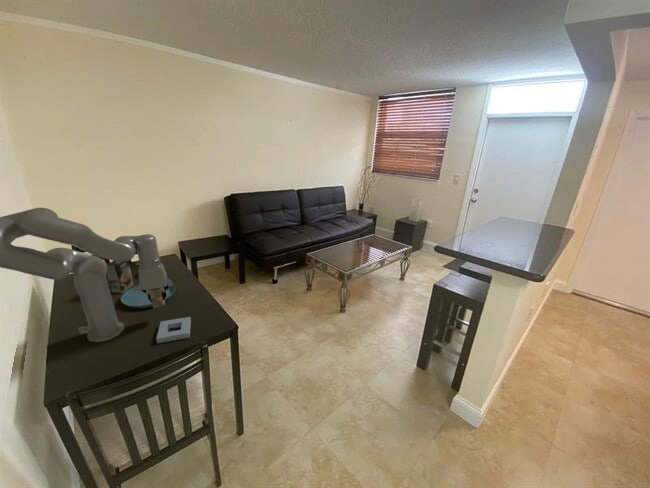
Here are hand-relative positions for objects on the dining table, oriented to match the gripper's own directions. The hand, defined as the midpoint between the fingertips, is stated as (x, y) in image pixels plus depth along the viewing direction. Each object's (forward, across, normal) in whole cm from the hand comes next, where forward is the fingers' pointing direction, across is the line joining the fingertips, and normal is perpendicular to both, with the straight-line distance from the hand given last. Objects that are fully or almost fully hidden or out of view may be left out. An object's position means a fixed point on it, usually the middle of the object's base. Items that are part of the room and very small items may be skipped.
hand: (158, 299), depth 127 cm
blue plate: (+11, -8, +22) cm, 26 cm away
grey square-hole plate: (+10, +6, -12) cm, 17 cm away
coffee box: (+10, -24, +36) cm, 44 cm away
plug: (+3, 0, 0) cm, 3 cm away
